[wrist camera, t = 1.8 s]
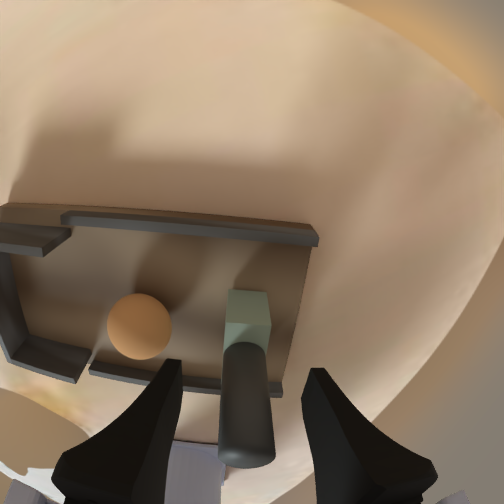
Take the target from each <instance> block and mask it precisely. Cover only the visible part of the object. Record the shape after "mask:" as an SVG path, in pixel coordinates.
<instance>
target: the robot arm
mask: <svg viewBox="0 0 504 504" xmlns="http://www.w3.org/2000/svg"><path fill="white" fill-rule="evenodd" d="M182 395H183V382H182V360H178V359H170V358H167V359H166V360H165V361H164V363H163V364H162V366H161V367H160V369H159V371H158V372H157V373H156V375H155V376H154V378H153V379H152V380H151V382H150V383H149V384H148V386H147V387H146V388H145V389H144V391H143V392H142V393H141V394H140V395H139V396H138V398H137V399H136V400H135V401H134V402H133V403H132V404H131V405H130V406H129V407H128V408H127V409H126V410H125V411H124V412H123V413H122V414H121V415H120V416H119V417H118V418H117V419H115V420H114V421H113V422H112V423H111V424H109V425H108V426H107V427H106V428H104V429H103V430H101V431H100V432H99V433H97V434H96V435H94V436H92V437H91V438H89V439H88V440H86V441H85V442H83V443H81V444H79V445H77V446H75V447H73V448H71V449H69V450H67V451H65V452H63V453H62V455H61V457H60V459H59V460H58V462H57V464H56V467H55V469H54V472H53V474H52V477H51V480H52V482H53V484H54V485H55V486H56V487H57V488H58V489H59V490H60V492H61V493H62V494H63V495H64V496H65V497H66V498H65V501H64V504H221V486H223V485H224V478H225V469H226V465H225V464H224V463H222V462H221V461H220V460H219V459H218V445H209V444H198V443H189V442H181V441H174V440H173V438H174V434H175V430H176V427H177V423H178V419H179V415H180V410H181V403H182ZM301 403H302V413H303V420H304V424H305V428H306V433H307V437H308V441H309V445H310V449H311V454H312V458H313V464H314V472H315V482H316V496H317V504H421V503H420V502H422V501H423V497H422V493H423V492H425V491H426V490H427V489H428V488H429V487H430V486H432V485H433V484H434V483H435V482H436V480H437V478H438V475H437V473H436V470H435V468H434V466H433V464H432V462H431V460H429V459H427V458H424V457H422V456H420V455H418V454H416V453H414V452H412V451H410V450H408V449H406V448H405V447H403V446H401V445H400V444H398V443H397V442H395V441H393V440H392V439H391V438H389V437H388V436H386V435H385V434H384V433H383V432H381V431H380V430H379V429H377V428H376V427H375V426H374V425H373V424H372V423H371V422H370V421H368V420H367V419H366V418H365V417H364V416H363V415H362V414H361V413H360V412H359V410H358V409H357V408H356V407H355V406H354V405H353V404H352V403H351V402H350V400H349V399H348V398H347V397H346V396H345V394H344V393H343V392H342V391H341V389H340V388H339V387H338V385H337V384H336V383H335V382H334V380H333V379H332V378H331V376H330V375H329V374H328V372H327V371H326V370H325V368H311V369H310V372H309V375H308V378H307V382H306V385H305V388H304V391H303V394H302V397H301ZM4 504H58V503H56V502H54V501H51V500H49V499H47V498H46V497H45V496H44V495H43V494H42V493H41V492H39V491H38V490H36V489H34V488H32V487H30V486H28V485H26V484H24V483H22V482H20V481H18V480H16V479H13V481H12V483H11V486H10V488H9V490H8V493H7V496H6V498H5V501H4ZM436 504H470V502H469V500H468V498H467V496H466V493H465V491H464V490H461V491H458V492H456V493H454V494H452V495H449V496H447V497H445V498H443V499H441V500H440V501H439V502H437V503H436Z"/></svg>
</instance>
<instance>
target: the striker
mask: <svg viewBox="0 0 504 504" xmlns="http://www.w3.org/2000/svg"><path fill="white" fill-rule="evenodd" d="M271 326H272V325H271V318H270V312H269V305H268V298H267V292H259V291H246V290H234V289H228V297H227V309H226V321H225V334H224V346H223V361H222V377H221V399H220V417H219V437H218V459H219V460H220V461H221V462H222V463H224V464H225V465H228V466H231V467H235V468H243V469H249V468H257V467H262V466H265V465H267V464H269V463H271V462H272V461H273V460H274V459H275V457H276V452H275V442H274V433H273V423H272V413H271V404H270V394H269V384H268V375H267V365H266V353H267V348H268V342H269V337H270V331H271Z"/></svg>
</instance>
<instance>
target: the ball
mask: <svg viewBox="0 0 504 504" xmlns="http://www.w3.org/2000/svg"><path fill="white" fill-rule="evenodd" d="M107 331H108V335H109V338H110V340H111V342H112V344H113V345H114V347H115V348H116V349H117V350H118V351H119V352H120V353H122V354H123V355H125V356H127V357H129V358H132V359H137V360H144V359H149V358H152V357H155V356H156V355H158V354H160V353H161V352H162V351H163V350H164V349H165V348H166V346H167V344H168V343H169V340H170V338H171V333H172V323H171V319H170V316H169V313H168V311H167V310H166V308H165V307H164V305H163V304H162V303H161V302H159V301H158V300H157V299H155V298H154V297H152V296H149V295H146V294H139V293H137V294H130V295H127V296H125V297H123V298H121V299H120V300H118V301H117V302H116V303H115V304H114V306H113V307H112V308H111V310H110V312H109V315H108V319H107Z"/></svg>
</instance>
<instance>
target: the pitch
mask: <svg viewBox="0 0 504 504" xmlns="http://www.w3.org/2000/svg"><path fill="white" fill-rule="evenodd" d="M318 242H319V236H318V234H317V233H316V232H315V230H314V229H313V227H312V226H311V225H310V224H301V223H292V222H283V221H273V220H263V219H253V218H243V217H232V216H221V215H210V214H198V213H186V212H173V211H160V210H145V209H130V208H114V207H97V206H77V205H54V204H26V203H6V204H4V205H2V206H0V345H1V347H2V350H3V352H4V354H5V357H6V359H7V361H8V362H9V363H11V364H14V365H17V366H19V367H22V368H25V369H28V370H31V371H33V372H36V373H39V374H43V375H46V376H49V377H52V378H55V379H59V380H62V381H66V382H69V383H73V384H76V383H77V381H78V379H79V377H80V375H81V373H82V372H83V370H84V368H85V366H86V364H91V365H90V367H89V369H88V370H89V374H90V375H94V376H99V377H103V378H108V379H113V380H117V381H123V382H128V383H133V384H139V385H145V386H148V384H149V383H150V382H151V380H152V379H153V378H154V376H155V375H156V373H157V372H158V371H159V369H160V367H161V366H162V364H163V363H164V361H165V360H166V359H167V358H170V359H178V360H182V382H183V391H187V392H196V393H205V394H216V395H221V377H222V361H223V346H224V334H225V321H226V309H227V297H228V289H234V290H246V291H259V292H267V298H268V305H269V312H270V318H271V325H272V326H271V331H270V337H269V342H268V348H267V353H266V365H267V375H268V384H269V394H270V397H272V398H282V396H283V388H282V379H283V375H284V371H285V367H286V363H287V359H288V355H289V350H290V346H291V342H292V338H293V333H294V329H295V325H296V320H297V316H298V311H299V307H300V302H301V297H302V293H303V288H304V283H305V278H306V273H307V268H308V263H309V258H310V253H311V248H312V247H318ZM137 293H139V294H146V295H149V296H152V297H154V298H155V299H157V300H158V301H159V302H161V303H162V304H163V305H164V307H165V308H166V310H167V311H168V313H169V316H170V319H171V323H172V333H171V338H170V340H169V343H168V344H167V346H166V348H165V349H164V350H163V351H162V352H161V353H160V354H158V355H156V356H155V357H152V358H149V359H144V360H137V359H132V358H129V357H127V356H125V355H123V354H122V353H120V352H119V351H118V350H117V349H116V348H115V347H114V345H113V344H112V342H111V340H110V338H109V335H108V331H107V319H108V315H109V312H110V310H111V308H112V307H113V306H114V304H115V303H116V302H117V301H118V300H120V299H121V298H123V297H125V296H127V295H130V294H137Z"/></svg>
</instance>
